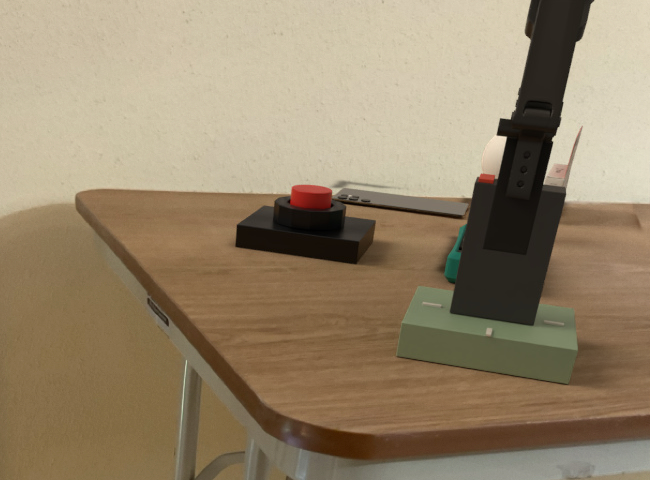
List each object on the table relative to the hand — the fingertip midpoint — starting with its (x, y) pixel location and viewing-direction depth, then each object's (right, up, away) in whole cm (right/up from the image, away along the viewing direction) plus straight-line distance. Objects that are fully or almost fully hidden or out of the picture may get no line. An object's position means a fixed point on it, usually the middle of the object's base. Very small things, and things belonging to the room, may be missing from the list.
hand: (507, 229), depth 61 cm
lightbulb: (+9, +12, +36) cm, 39 cm away
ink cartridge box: (+20, +19, +49) cm, 56 cm away
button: (-12, +11, +25) cm, 30 cm away
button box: (-12, +8, +27) cm, 31 cm away
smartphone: (+1, +20, +47) cm, 51 cm away
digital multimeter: (+5, +4, +24) cm, 25 cm away
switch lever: (0, -5, +3) cm, 6 cm away
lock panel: (0, -7, +5) cm, 9 cm away
